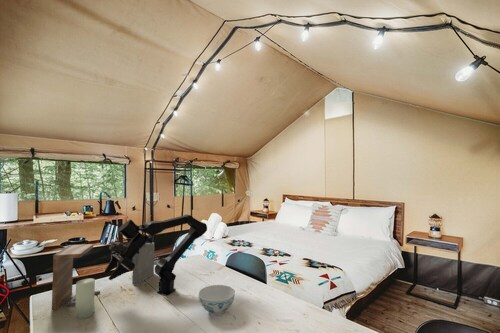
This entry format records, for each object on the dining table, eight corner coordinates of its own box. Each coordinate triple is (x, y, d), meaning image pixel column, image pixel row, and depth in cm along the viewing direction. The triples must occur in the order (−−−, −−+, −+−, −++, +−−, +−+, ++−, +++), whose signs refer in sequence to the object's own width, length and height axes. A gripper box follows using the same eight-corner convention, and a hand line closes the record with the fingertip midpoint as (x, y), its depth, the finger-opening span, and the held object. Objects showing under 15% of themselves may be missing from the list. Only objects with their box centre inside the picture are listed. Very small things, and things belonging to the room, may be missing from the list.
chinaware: (192, 309, 110) (192, 290, 110) (222, 299, 119) (222, 282, 119) (209, 326, 98) (209, 305, 98) (242, 313, 107) (242, 294, 108)
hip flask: (136, 285, 134) (137, 245, 134) (129, 284, 135) (130, 244, 135) (154, 273, 149) (155, 238, 150) (148, 273, 150) (149, 237, 151)
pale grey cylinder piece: (97, 312, 107) (98, 279, 108) (82, 320, 101) (83, 285, 102) (86, 309, 110) (87, 277, 110) (71, 316, 104) (72, 283, 104)
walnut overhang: (101, 290, 127) (103, 243, 128) (90, 306, 111) (91, 253, 112) (68, 293, 124) (69, 245, 124) (51, 310, 108) (53, 255, 109)
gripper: (116, 230, 122) (88, 259, 115) (127, 238, 107) (95, 271, 100) (134, 245, 127) (108, 273, 119) (146, 254, 112) (117, 287, 105)
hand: (107, 276), depth 111 cm, fingers open, 9 cm apart
